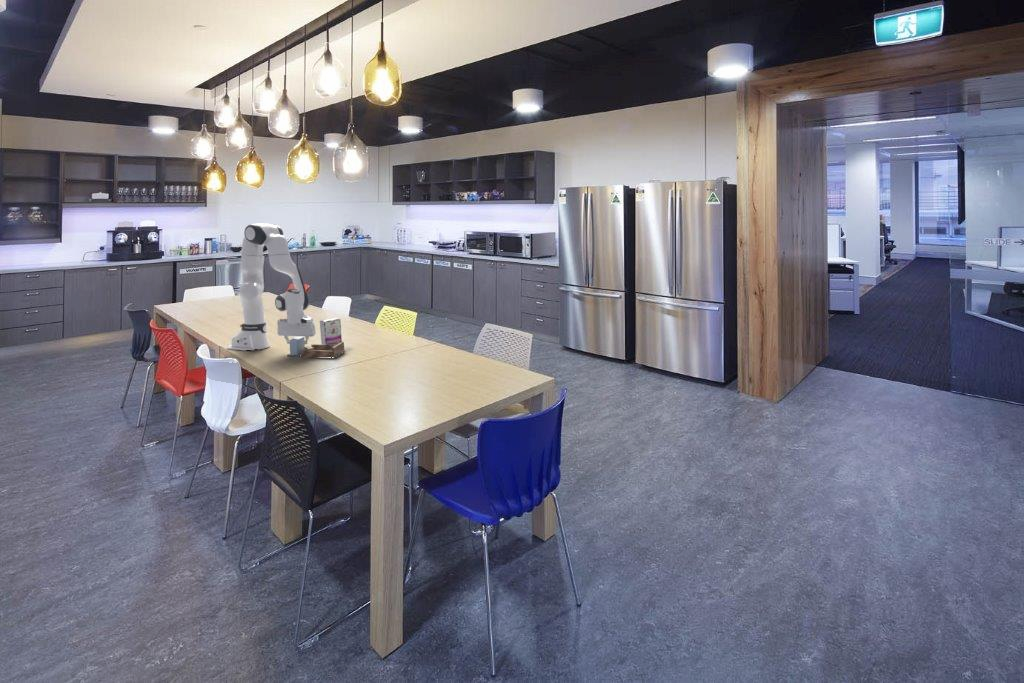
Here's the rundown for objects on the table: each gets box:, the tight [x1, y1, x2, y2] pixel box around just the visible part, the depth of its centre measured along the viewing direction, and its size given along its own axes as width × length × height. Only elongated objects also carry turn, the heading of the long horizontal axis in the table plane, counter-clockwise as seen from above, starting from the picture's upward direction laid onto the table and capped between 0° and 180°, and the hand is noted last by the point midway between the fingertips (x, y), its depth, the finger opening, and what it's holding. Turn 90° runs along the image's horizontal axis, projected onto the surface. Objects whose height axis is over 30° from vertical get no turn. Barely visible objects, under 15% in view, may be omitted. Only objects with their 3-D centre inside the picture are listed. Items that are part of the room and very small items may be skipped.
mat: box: [287, 353, 301, 357], centre depth 322 cm, size 7×11×1 cm, turn 176°
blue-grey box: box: [289, 336, 306, 355], centre depth 321 cm, size 4×10×8 cm, turn 176°
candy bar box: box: [319, 317, 343, 345], centre depth 337 cm, size 11×5×16 cm, turn 143°
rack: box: [300, 341, 345, 359], centre depth 320 cm, size 18×15×6 cm
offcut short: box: [304, 345, 314, 350], centre depth 320 cm, size 3×6×2 cm, turn 41°
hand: (297, 343), depth 321 cm, fingers open, 8 cm apart
